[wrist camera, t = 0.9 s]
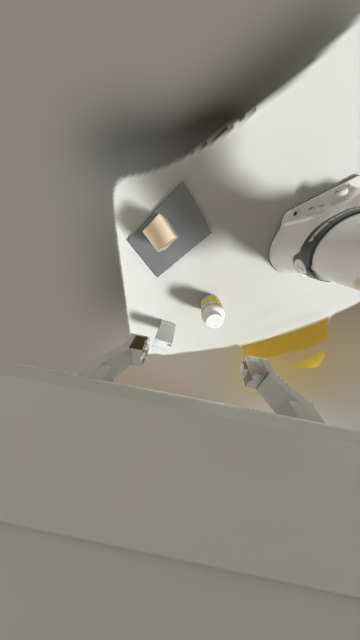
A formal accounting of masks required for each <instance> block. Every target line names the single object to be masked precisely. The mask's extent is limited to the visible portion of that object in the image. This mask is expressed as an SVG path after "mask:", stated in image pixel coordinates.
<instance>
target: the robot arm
mask: <svg viewBox="0 0 360 640" xmlns="http://www.w3.org/2000/svg"><path fill="white" fill-rule="evenodd" d="M294 212H296V215H295V216H294ZM269 257H270V262H271V264H272V266H273V267H274V268H275V269H276V270H277V271H279V272H281V273H286V274H299V275H301V276H308V277H311V278H314V279H317V280H320V281H326V282H335V283H338V284H341V285H345V286H348V287H351V288H354V289H357V290H360V175H358V176H356V177H354V178H352V179H350V180H348V181H346V182H344V183H342V184H340V185H338V186H336V187H334V188H332V189H330V190H328V191H326V192H324V193H322V194H320V195H318V196H316V197H314V198H313V199H311V200H309V201H307V202H305V203H303V204H301V205H299V206H297V207H295V208H293V209H291V210H289V211H287V212H286V213H285V214H284V216H283V219H282V222H281V226H280V229H279V231H278V233H277V234H276V236H275V238H274V239H273V242H272V244H271V247H270V253H269ZM148 342H149V337H147V336H142V335H137V334H132V333H131V334H130V335H129V337H128V338H127V339H126V341H125V342H124V344H123V345H122V346H119V347H117V348H115V349H113V350H111V351H109V352H107V353H105V354H103V355H101V356H99V357H96V358H94V359H92V360H90V361H89V362H88V363H87V364H86V365H85V367H84V368H83V369H82V370H81V371H80V372H79V373H78V375H74V374H69V373H64V372H58V371H53V370H48V369H43V368H38V367H33V366H28V365H23V364H13V365H9V366H6V367H2V368H0V640H360V430H357V429H352V428H346V427H341V426H336V425H331V424H326V423H325V422H324V421H323V419H322V418H321V416H320V415H319V413H318V412H317V410H316V409H315V408H314V406H313V404H312V403H310V402H309V401H308V400H307V399H306V398H304V397H303V396H302V395H301V394H299V393H298V392H297V391H296V390H295V389H293V388H292V387H291V386H290V385H289V384H287V383H286V382H285V381H284V380H283V379H281V378H280V377H279V376H277V375H276V374H275V372H274V370H273V368H272V367H271V365H270V363H269V361H268V360H267V359H264V358H258V357H253V356H246V357H245V361H244V362H242V364H241V374H242V375H243V376H244V378H243V380H244V383H245V386H246V387H251V388H255V389H257V390H258V392H259V393H260V394H261V396H262V397H263V398H264V399H265V401H266V402H267V403H268V404H269V406H270V407H271V408H272V409H273V410H274V412H275V413H269V412H264V411H259V410H254V409H249V408H243V407H239V406H233V405H228V404H223V403H218V402H213V401H208V400H202V399H197V398H192V397H187V396H182V395H176V394H171V393H167V392H161V391H156V390H151V389H146V388H141V387H135V386H130V385H125V384H120V383H115V382H114V381H113V379H114V378H116V377H117V376H118V375H119V374H121V373H122V372H123V371H125V370H126V369H127V368H129V367H130V366H131V365H136V366H142V365H143V363H144V360H145V356H147V353H148V350H149V344H148Z"/></svg>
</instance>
